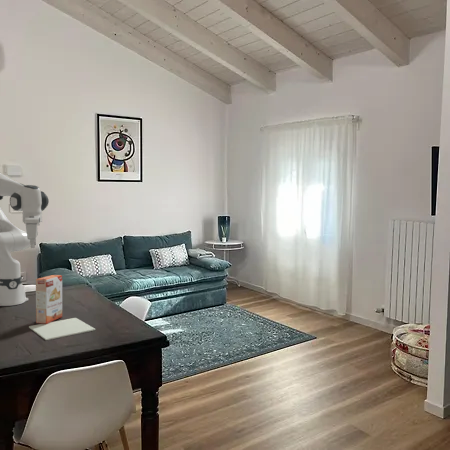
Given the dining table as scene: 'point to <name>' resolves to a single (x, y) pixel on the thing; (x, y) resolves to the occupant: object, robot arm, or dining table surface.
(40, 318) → the cracker box
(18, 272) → the robot arm
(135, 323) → the dining table surface
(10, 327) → the dining table surface
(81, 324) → the mat
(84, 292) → the dining table surface
